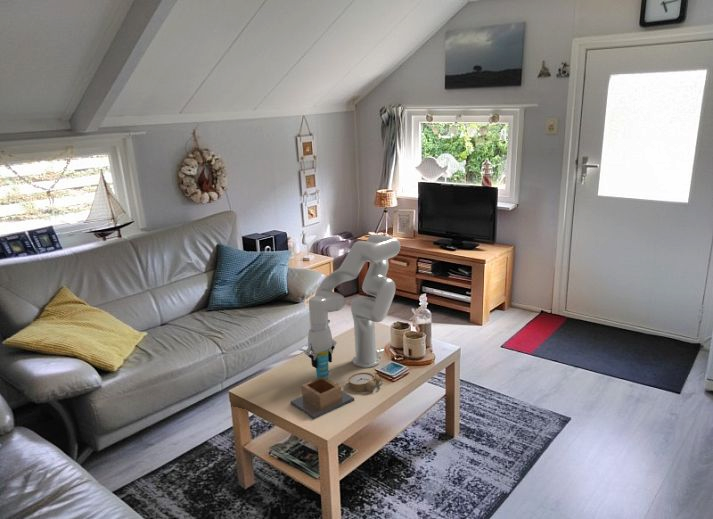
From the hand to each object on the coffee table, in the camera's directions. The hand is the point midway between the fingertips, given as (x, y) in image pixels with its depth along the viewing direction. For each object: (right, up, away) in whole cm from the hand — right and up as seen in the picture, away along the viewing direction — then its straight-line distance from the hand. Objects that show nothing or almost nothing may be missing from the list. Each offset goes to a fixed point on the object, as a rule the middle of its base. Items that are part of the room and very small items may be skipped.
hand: (322, 363), depth 236 cm
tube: (0, -9, +2) cm, 9 cm away
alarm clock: (+19, -9, -2) cm, 21 cm away
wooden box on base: (+1, -13, -13) cm, 19 cm away
